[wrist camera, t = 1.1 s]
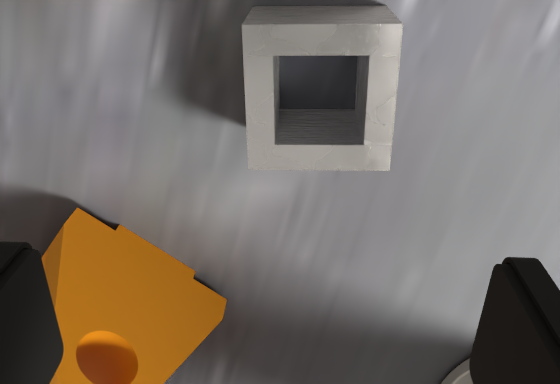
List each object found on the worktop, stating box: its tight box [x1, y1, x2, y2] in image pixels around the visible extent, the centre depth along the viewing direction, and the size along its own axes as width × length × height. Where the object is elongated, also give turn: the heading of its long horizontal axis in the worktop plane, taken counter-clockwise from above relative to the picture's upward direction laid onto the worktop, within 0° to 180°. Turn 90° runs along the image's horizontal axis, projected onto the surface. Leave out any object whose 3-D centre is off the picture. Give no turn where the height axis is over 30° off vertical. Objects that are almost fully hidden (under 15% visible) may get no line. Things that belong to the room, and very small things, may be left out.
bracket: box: [41, 207, 227, 384], centre depth 29 cm, size 11×7×12 cm
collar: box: [242, 5, 403, 171], centre depth 25 cm, size 6×6×5 cm
